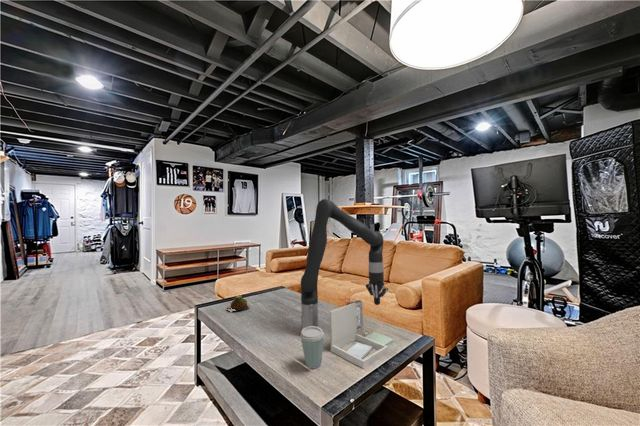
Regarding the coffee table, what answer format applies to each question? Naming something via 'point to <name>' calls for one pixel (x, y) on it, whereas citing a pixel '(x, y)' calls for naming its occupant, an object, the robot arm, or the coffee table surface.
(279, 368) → the coffee table surface
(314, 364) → the disposable coffee cup
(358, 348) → the hard drive
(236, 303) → the cactus
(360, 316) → the disk drive
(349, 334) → the case
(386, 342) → the mat
